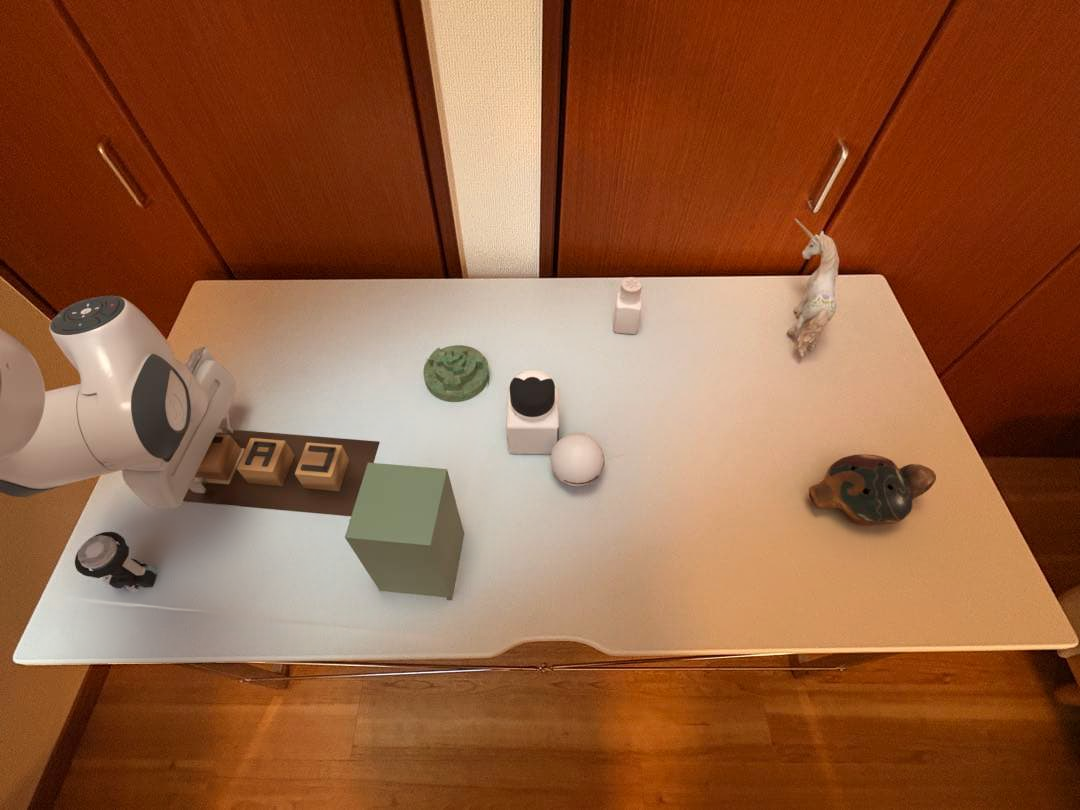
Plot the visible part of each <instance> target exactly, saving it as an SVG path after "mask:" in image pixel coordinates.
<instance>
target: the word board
mask: <svg viewBox="0 0 1080 810" xmlns="http://www.w3.org/2000/svg"><path fill="white" fill-rule="evenodd" d="M231 437H232V438H233V439H234V441H235V442H236V443H237V445H238V446H239V447H240V449H241V450H242V451H241V453H240V455H239V458H238V460H237V462H236V464H235V466H234V469H233V471H232V473H231V475H230V477H229V479H228V480H216V479H206V481H207V482H209V484H208V486H207V488H206V491H205V493H196V492H193V491H191V490H190V489H188V491H187V493H186V495H185V497H184V499H183V501H182V502H186V503H198V504H207V505H208V504H209V505H218V506H219V505H220V506H230V507H241V508H253V509H263V510H264V509H265V510H275V511H286V512H287V511H288V512H297V513H307V514H319V515H328V516H329V515H331V516H339V517H340V516H342V517H351V516H352V513H353V509H354V506H355V503H356V500H357V496H358V493H359V490H360V487H361V483H362V480H363V477H364V474H365V470H366V467H367V464H368V463H375V460H376V456H377V453H378V449H379V446H380V443H381V441H378V440H367V439H366V440H365V439H353V438H342V437H341V438H340V437H329V436H317V435H316V436H315V435H303V434H293V433H280V432H269V431H268V432H267V431H257V430H243V429H233V434H232V436H231ZM250 438H258V439H270V440H283V441H286V443H287V444H288V446H289V447H290V449H291V450H292V452H293V454H294V455H295V456H294V459H293V462H292V464H291V467H290V469H289V472H288V474H287V477H286V479H285V482H284V485H283V486H275V485H264V484H252V483H248V482H247V481H246V480H245V478H244V477H243V476H242V475H241V473H240V472H239V471H238V470H237V467H238V465H239V463H240V460H241V458H242V456H243V454H244V452H245V449H246V447H247V445H248V443H249V441H250ZM306 443H320V444H332V445H342V447H343V449H344V451H345V453H346V455H347V457H348V458H349V463H348V466H347V469H346V472H345V475H344V478H343V481H342V484H341V487H340V490H339V491H331V490H320V489H309V488H304V487H303V486H302V484H301V483H300V481H299V480H298V478H297V477H296V475H295V472H296V469H297V466H298V464H299V461H300V459H301V456H302V453H303V451H304V448H305V446H306Z"/></svg>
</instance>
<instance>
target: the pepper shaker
mask: <svg viewBox="0 0 1080 810" xmlns="http://www.w3.org/2000/svg"><path fill="white" fill-rule="evenodd" d="M642 288H643V284H642V281H641V280H640V279H639V278H637V277H634V276H629V277H625V278H624V279H622V281H621V283H620V290H619V291H618V292H617V293H616V301H615V309H614V317H613V326H612V327H613V332H614V333H617V334H626V335H636V334H637V333H638V328H639V324H640V318H641V314H642V306H643V295H642Z"/></svg>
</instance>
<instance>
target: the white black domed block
mask: <svg viewBox="0 0 1080 810" xmlns="http://www.w3.org/2000/svg"><path fill="white" fill-rule="evenodd" d="M559 395H560V393H559V387H558V386H556V384H555V381H554V379H553V378H552V377H551V376H550V375H549V374H547V373H545V372H543V371H541V370H537V369H528V370H524V371H522V372H521V371H520V372H519V373H518V374H516V375H515V376H514V377H513V378H512V380H511V381H510V384H509V386H508V389H507V406H506V422H505V423H506V424H505V428H506V436H507V437H506V439H507V449H508V453H509V454H511V455H551V453H552V450H553V447H554V446H555V444H556V442H558V441H559V438H560V437H559V435H560V433H559V431H560V410H559V409H560V407H559V406H560V402H559V401H560V400H559V398H560V397H559Z"/></svg>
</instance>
